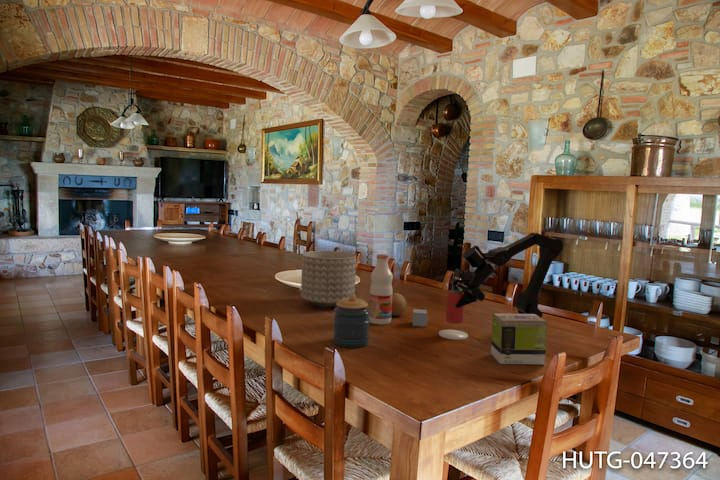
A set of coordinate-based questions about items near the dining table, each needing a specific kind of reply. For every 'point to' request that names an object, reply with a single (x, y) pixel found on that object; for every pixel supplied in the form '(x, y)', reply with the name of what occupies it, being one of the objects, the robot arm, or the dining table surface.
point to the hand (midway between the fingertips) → (452, 305)
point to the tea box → (518, 338)
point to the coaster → (453, 334)
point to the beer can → (452, 312)
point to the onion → (398, 304)
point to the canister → (351, 323)
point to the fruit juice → (381, 292)
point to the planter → (327, 277)
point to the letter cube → (419, 317)
